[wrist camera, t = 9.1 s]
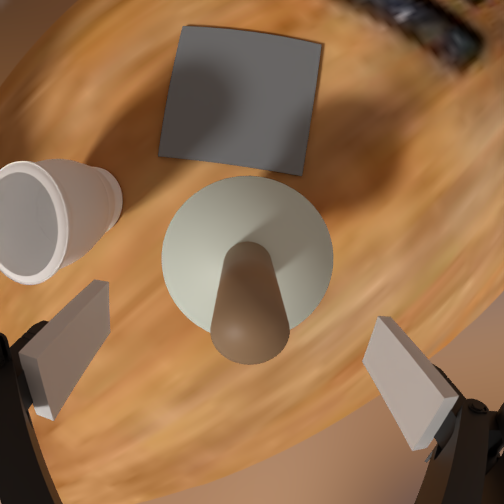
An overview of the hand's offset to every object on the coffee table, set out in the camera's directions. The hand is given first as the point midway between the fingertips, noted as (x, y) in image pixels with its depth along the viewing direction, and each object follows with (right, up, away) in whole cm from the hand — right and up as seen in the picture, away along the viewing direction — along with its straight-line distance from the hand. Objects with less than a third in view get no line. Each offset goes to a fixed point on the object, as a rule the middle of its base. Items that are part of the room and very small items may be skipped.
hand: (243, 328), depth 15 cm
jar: (-19, +10, +21) cm, 30 cm away
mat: (-1, +21, +18) cm, 27 cm away
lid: (0, +3, +10) cm, 11 cm away
